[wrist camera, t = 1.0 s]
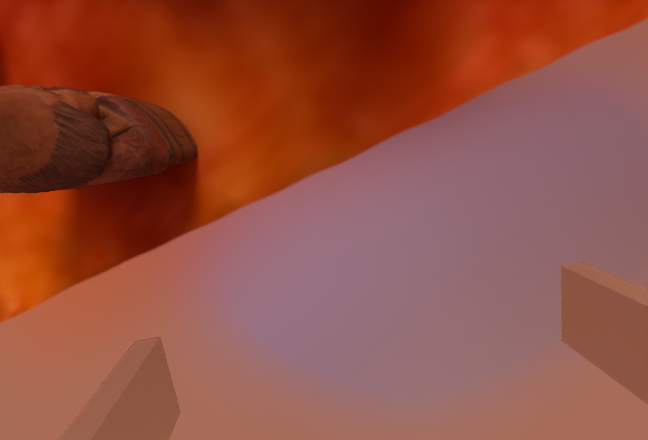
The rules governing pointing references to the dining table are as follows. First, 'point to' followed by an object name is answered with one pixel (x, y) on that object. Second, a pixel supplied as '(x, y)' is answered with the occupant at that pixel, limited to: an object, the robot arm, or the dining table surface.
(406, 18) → the dining table surface
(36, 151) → the wooden figurine
